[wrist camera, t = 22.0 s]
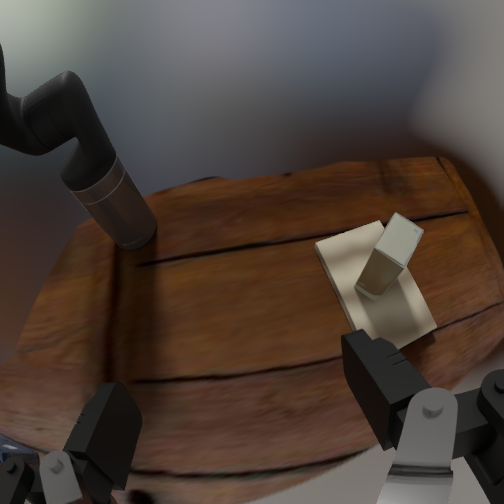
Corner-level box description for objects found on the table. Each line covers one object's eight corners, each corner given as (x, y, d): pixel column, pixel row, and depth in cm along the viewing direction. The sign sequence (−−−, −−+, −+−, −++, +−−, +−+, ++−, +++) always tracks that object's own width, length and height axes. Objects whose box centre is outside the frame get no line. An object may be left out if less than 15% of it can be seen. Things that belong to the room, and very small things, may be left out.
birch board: (314, 249, 46) (315, 242, 44) (376, 227, 46) (379, 220, 45) (367, 365, 36) (370, 363, 34) (431, 330, 36) (437, 327, 35)
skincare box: (372, 257, 42) (396, 209, 31) (395, 272, 40) (425, 228, 29) (351, 288, 40) (373, 246, 29) (375, 305, 38) (405, 268, 27)
